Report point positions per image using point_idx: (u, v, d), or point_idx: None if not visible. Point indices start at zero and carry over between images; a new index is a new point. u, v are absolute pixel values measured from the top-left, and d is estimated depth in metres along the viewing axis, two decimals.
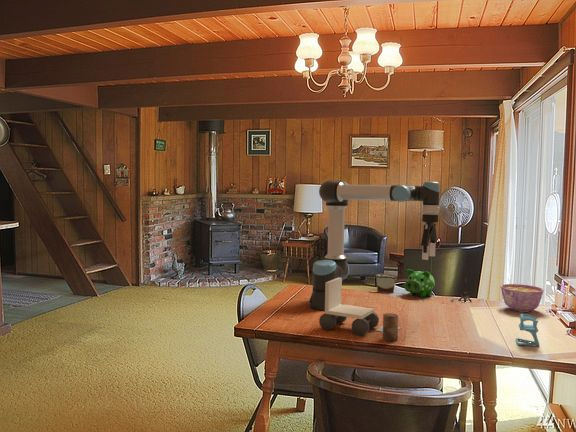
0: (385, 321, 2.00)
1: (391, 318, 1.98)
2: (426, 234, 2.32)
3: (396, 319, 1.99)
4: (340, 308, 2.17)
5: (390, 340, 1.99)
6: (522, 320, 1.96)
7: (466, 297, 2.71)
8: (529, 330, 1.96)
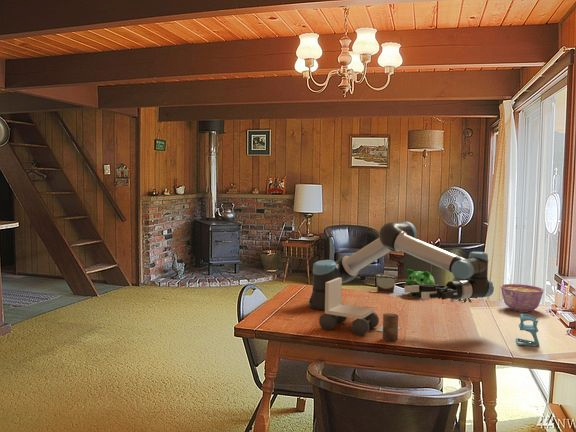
0: (385, 321, 2.00)
1: (391, 318, 1.98)
2: (450, 296, 1.99)
3: (396, 319, 1.99)
4: (340, 308, 2.17)
5: (390, 340, 1.99)
6: (522, 320, 1.96)
7: None
8: (529, 330, 1.96)
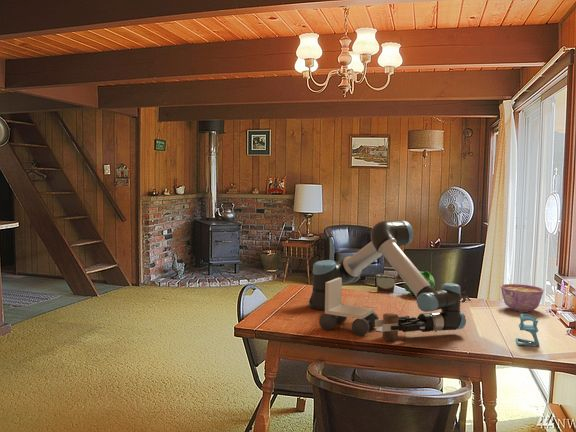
0: (385, 321, 2.00)
1: (391, 318, 1.98)
2: (414, 329, 1.97)
3: (396, 319, 1.99)
4: (340, 308, 2.17)
5: (390, 340, 1.99)
6: (522, 320, 1.96)
7: (465, 297, 2.71)
8: (529, 330, 1.96)
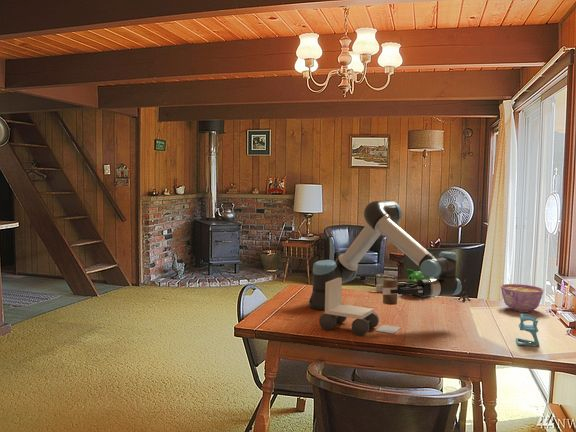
0: (385, 285, 2.12)
1: (391, 282, 2.11)
2: (412, 292, 2.10)
3: (395, 283, 2.12)
4: (340, 308, 2.17)
5: (390, 303, 2.12)
6: (522, 320, 1.96)
7: (465, 297, 2.72)
8: (529, 330, 1.96)
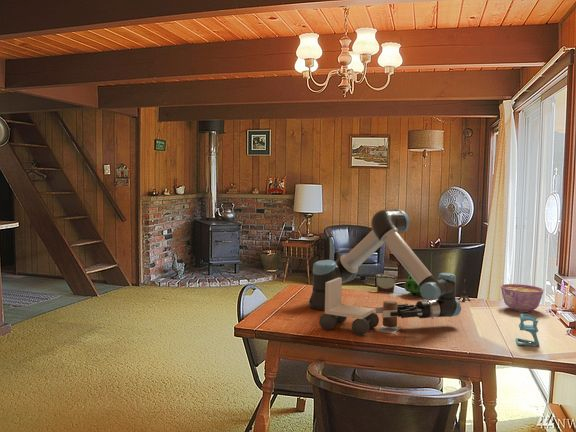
0: (385, 308, 2.13)
1: (391, 305, 2.12)
2: (412, 315, 2.11)
3: (395, 306, 2.12)
4: (340, 308, 2.17)
5: (390, 326, 2.12)
6: (522, 320, 1.96)
7: (465, 297, 2.72)
8: (529, 330, 1.95)
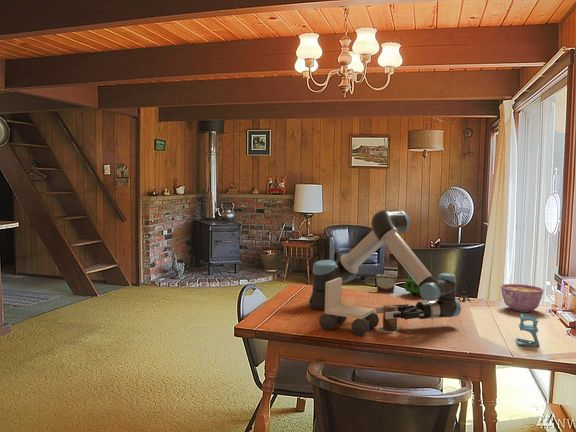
0: None
1: (391, 309, 2.12)
2: (414, 316, 2.10)
3: (395, 310, 2.12)
4: (340, 308, 2.17)
5: (390, 330, 2.12)
6: (522, 320, 1.96)
7: (465, 296, 2.72)
8: (529, 330, 1.96)
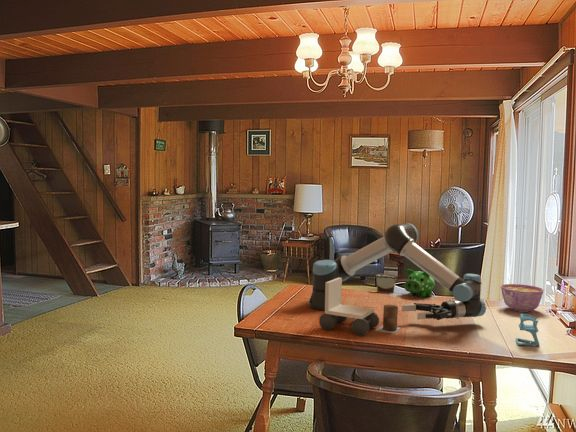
0: (385, 312, 2.13)
1: (391, 309, 2.12)
2: (444, 316, 2.13)
3: (396, 310, 2.13)
4: (340, 308, 2.17)
5: (390, 329, 2.12)
6: (522, 320, 1.96)
7: None
8: (529, 330, 1.95)
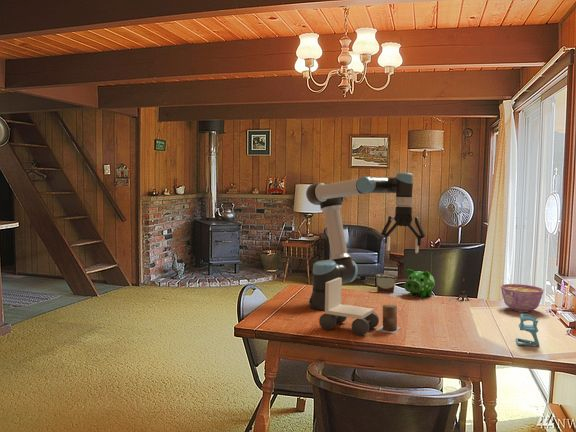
0: (385, 312, 2.13)
1: (391, 309, 2.12)
2: None
3: (395, 309, 2.13)
4: (340, 308, 2.17)
5: (390, 329, 2.12)
6: (522, 320, 1.96)
7: (464, 296, 2.73)
8: (529, 330, 1.95)
